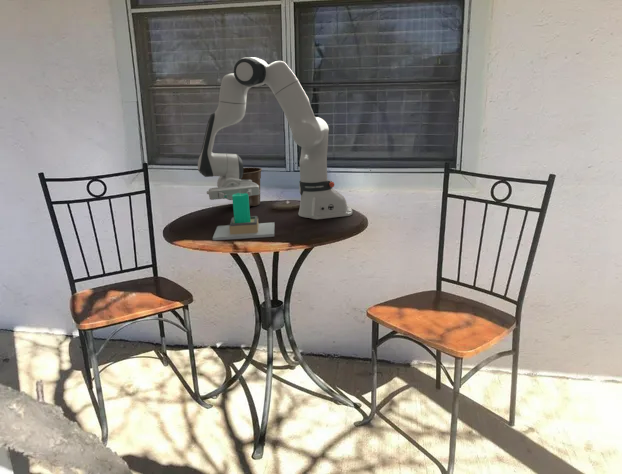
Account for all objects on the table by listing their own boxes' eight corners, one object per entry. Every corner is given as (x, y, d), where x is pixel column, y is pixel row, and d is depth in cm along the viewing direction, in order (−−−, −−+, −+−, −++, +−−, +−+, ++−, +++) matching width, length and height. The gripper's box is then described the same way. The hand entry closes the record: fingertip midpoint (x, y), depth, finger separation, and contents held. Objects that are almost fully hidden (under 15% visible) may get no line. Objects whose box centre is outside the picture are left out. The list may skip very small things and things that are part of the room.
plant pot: (224, 209, 227) (220, 173, 222) (234, 201, 242) (231, 167, 237) (259, 208, 224) (256, 172, 220) (267, 200, 239) (265, 166, 235)
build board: (274, 224, 197) (273, 212, 196) (274, 236, 182) (273, 223, 181) (217, 228, 196) (216, 216, 195) (212, 240, 181) (211, 227, 180)
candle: (247, 224, 185) (244, 192, 181) (232, 224, 186) (229, 192, 182) (252, 220, 190) (250, 188, 187) (237, 219, 191) (234, 188, 188)
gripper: (205, 184, 204) (209, 190, 192) (254, 179, 210) (261, 184, 198) (206, 199, 206) (210, 206, 194) (255, 193, 212) (263, 200, 199)
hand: (237, 195), depth 196 cm, fingers open, 8 cm apart
